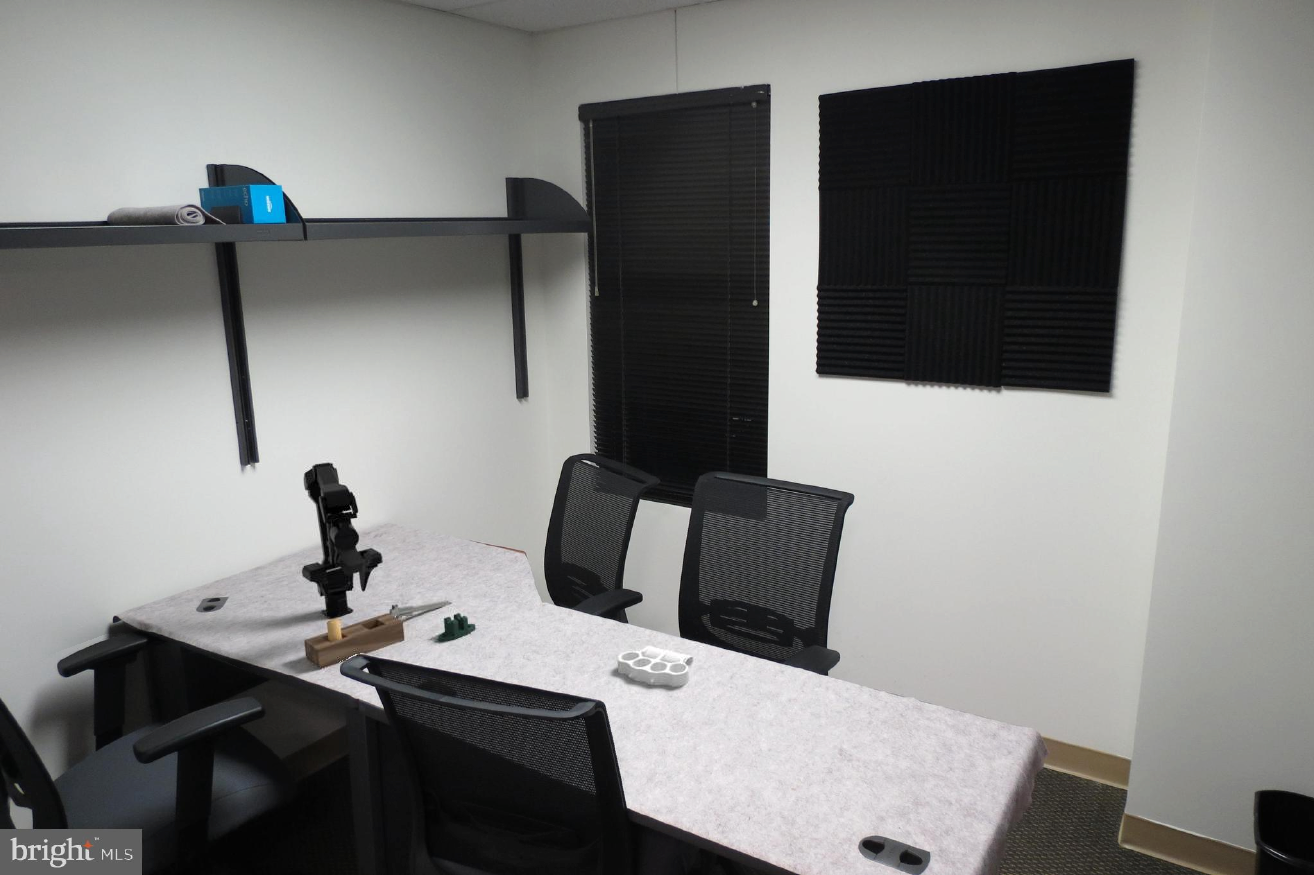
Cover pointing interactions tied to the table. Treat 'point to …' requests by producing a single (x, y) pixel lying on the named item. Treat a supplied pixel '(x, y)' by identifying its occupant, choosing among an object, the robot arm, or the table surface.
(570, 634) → the table surface
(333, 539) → the robot arm
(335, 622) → the peg
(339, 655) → the hole block
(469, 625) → the mount
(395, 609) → the caliper
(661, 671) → the white brass knuckles
